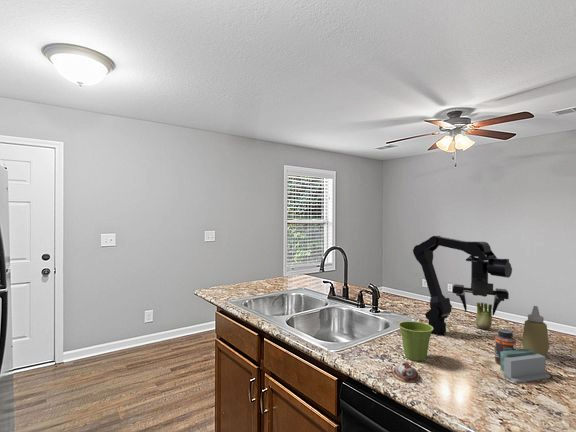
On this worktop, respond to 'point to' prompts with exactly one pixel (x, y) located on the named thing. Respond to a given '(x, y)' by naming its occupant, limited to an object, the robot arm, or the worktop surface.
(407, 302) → the worktop surface
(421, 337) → the plant pot
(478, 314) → the fennel bulb
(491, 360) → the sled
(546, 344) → the squeeze bottle
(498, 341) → the supplement bottle
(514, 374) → the backstop wall
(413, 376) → the pastry
